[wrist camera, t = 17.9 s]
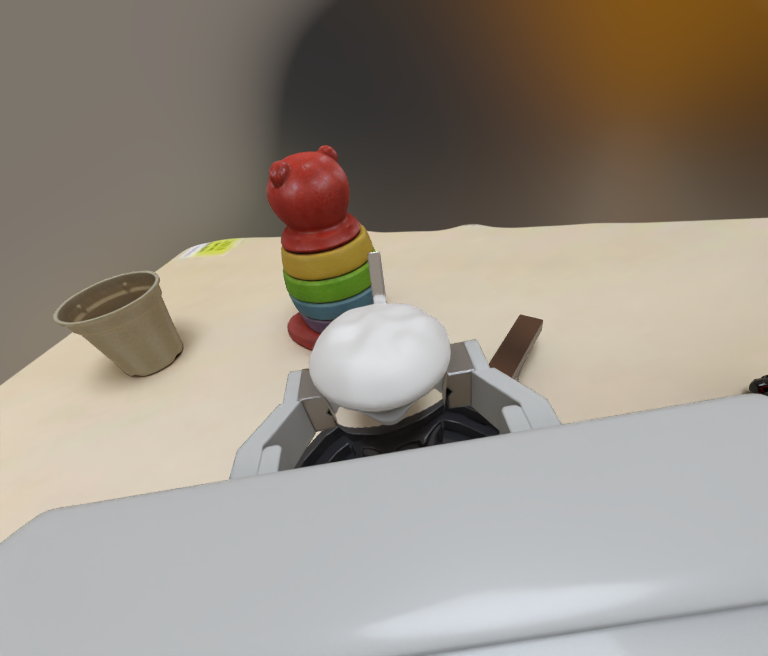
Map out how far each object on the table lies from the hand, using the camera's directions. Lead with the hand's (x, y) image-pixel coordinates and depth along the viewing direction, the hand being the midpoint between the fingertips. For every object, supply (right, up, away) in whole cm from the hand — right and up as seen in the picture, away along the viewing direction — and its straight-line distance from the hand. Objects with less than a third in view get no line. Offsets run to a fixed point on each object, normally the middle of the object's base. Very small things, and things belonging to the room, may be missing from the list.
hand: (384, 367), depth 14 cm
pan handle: (+10, -2, +15) cm, 18 cm away
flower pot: (-26, -2, +27) cm, 37 cm away
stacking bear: (-4, +2, +26) cm, 26 cm away
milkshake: (+1, -5, +3) cm, 6 cm away
